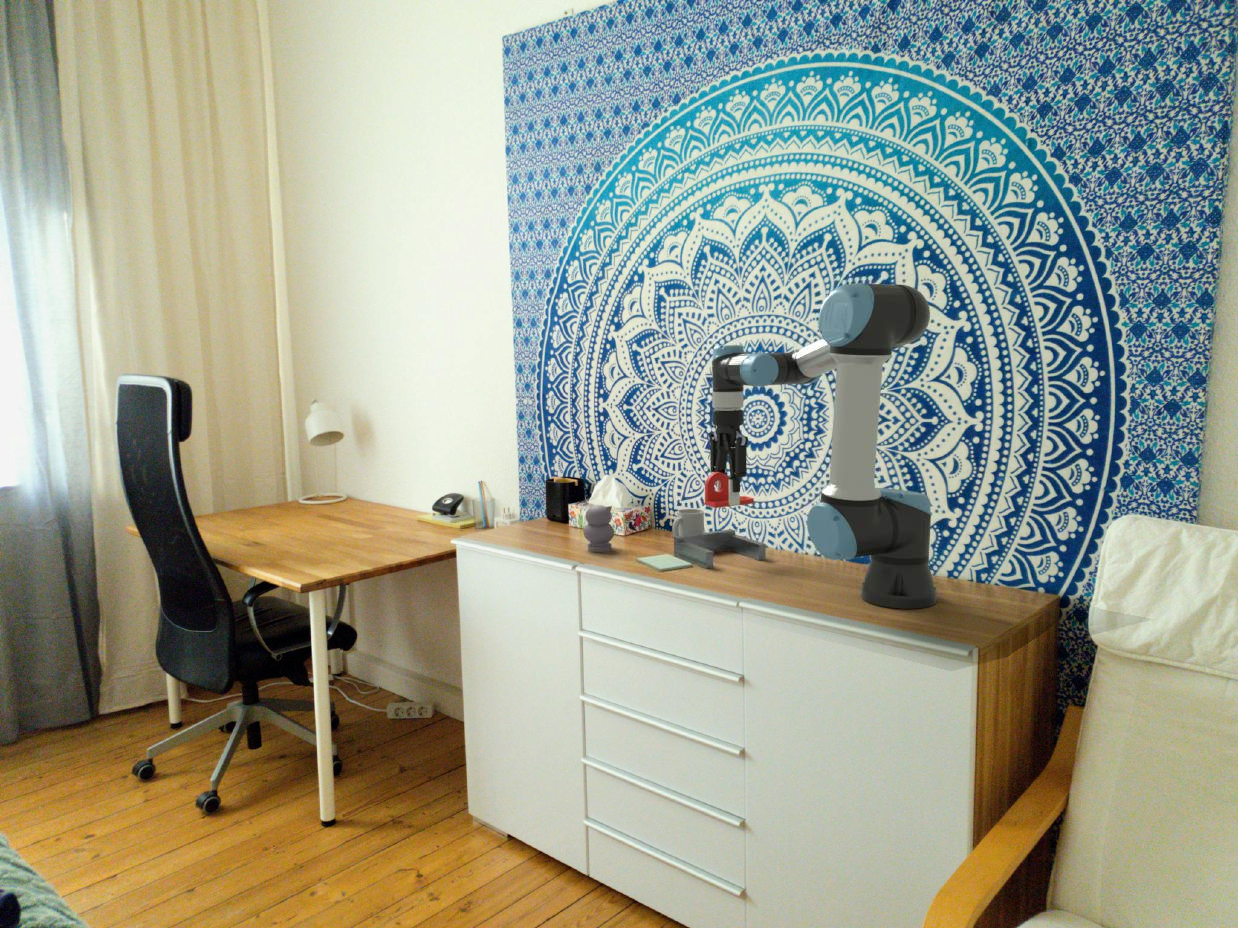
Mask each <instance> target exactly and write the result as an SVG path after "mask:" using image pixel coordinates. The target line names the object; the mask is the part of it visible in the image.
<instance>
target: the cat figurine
mask: <svg viewBox="0 0 1238 928" xmlns="http://www.w3.org/2000/svg"><path fill="white" fill-rule="evenodd" d="M612 507H613V505H609V506H605V505H602V504H593V503H590V506H589V508H588V509H587V510H586V512H585V520H586V522H587V524H586V525H584V528H583V536H584V538H585V539H586V540H587V541H588V542H589V543H588V544H587V551H589V552H591V553H607V552H610V551H612V548H613V546H612V543H611V542H610V541H611V540H613V538H614V537H615V529H614V527H613V526H612V525H611V521H612V516H613V515H612V513H611V510H612Z"/></svg>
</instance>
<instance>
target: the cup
mask: <svg viewBox="0 0 1238 928" xmlns="http://www.w3.org/2000/svg"><path fill="white" fill-rule="evenodd" d="M671 530H672V536H673V538H674V537H676V536H684V535H691V534H699V533H705V512H704V510H703V509H697V508H682V509H678V510H677V511H676V518H675V519H674V520H673V523H672V529H671Z"/></svg>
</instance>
